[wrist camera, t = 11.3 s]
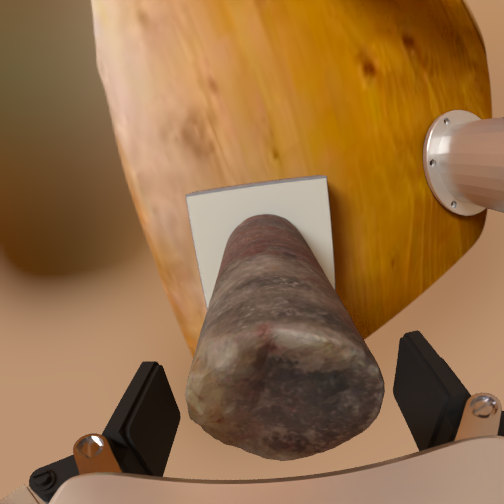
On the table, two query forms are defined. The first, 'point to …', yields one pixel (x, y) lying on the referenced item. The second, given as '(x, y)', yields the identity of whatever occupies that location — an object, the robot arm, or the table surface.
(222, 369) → the candle
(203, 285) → the podium
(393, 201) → the table surface
